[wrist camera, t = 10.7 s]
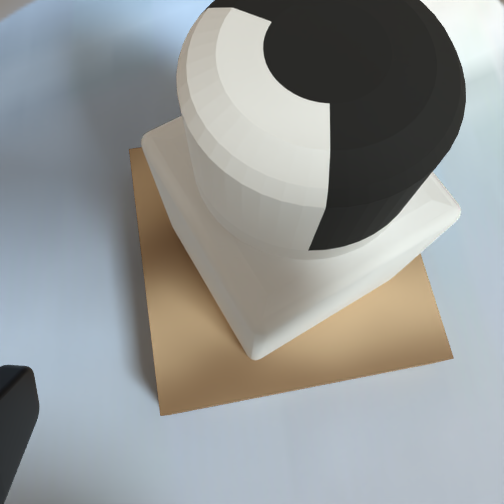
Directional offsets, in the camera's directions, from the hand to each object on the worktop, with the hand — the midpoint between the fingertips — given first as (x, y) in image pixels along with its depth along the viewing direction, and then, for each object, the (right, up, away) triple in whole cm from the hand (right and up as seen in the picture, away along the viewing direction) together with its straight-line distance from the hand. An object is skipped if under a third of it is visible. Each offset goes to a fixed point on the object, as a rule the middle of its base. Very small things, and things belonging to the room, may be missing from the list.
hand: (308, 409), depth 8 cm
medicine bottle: (0, +3, +13) cm, 13 cm away
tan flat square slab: (0, +2, +15) cm, 15 cm away
